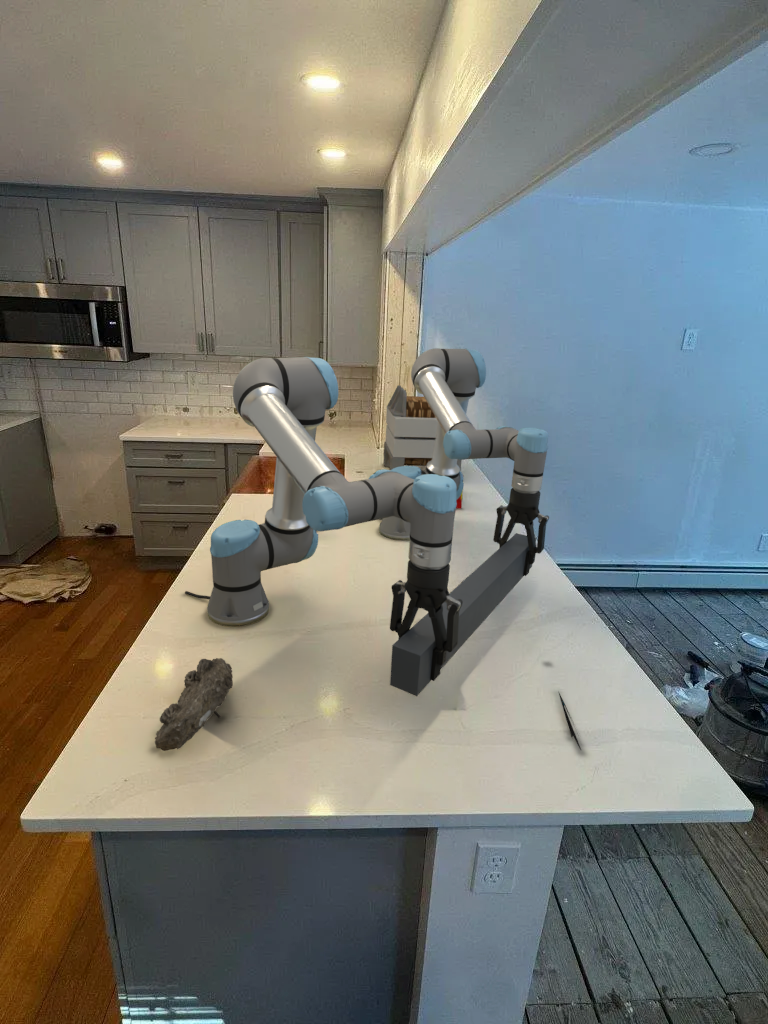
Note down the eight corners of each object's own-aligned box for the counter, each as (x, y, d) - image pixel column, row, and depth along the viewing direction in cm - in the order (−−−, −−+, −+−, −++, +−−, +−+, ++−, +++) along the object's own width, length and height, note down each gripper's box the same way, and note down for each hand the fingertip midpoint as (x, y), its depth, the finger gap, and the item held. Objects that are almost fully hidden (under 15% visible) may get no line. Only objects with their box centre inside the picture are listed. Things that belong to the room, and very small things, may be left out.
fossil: (182, 659, 118) (233, 627, 113) (214, 689, 120) (265, 659, 115) (130, 744, 98) (189, 710, 93) (170, 778, 101) (229, 746, 96)
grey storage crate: (382, 463, 289) (386, 382, 275) (445, 464, 293) (451, 384, 279) (390, 482, 257) (394, 392, 243) (460, 483, 261) (468, 394, 247)
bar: (512, 561, 160) (516, 533, 157) (532, 566, 158) (536, 537, 155) (389, 685, 105) (392, 645, 102) (416, 696, 103) (420, 655, 100)
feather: (547, 667, 130) (553, 661, 129) (581, 755, 103) (588, 747, 102) (541, 664, 129) (547, 657, 129) (573, 750, 103) (580, 743, 102)
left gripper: (373, 555, 103) (368, 663, 111) (469, 584, 94) (456, 699, 102) (394, 542, 109) (388, 645, 117) (486, 568, 100) (473, 678, 108)
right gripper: (485, 485, 147) (476, 566, 155) (558, 500, 138) (544, 585, 146) (496, 479, 153) (487, 557, 161) (566, 493, 144) (552, 575, 152)
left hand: (420, 670), depth 109 cm, fingers closed on bar, 6 cm apart
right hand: (514, 570), depth 153 cm, fingers closed on bar, 6 cm apart
